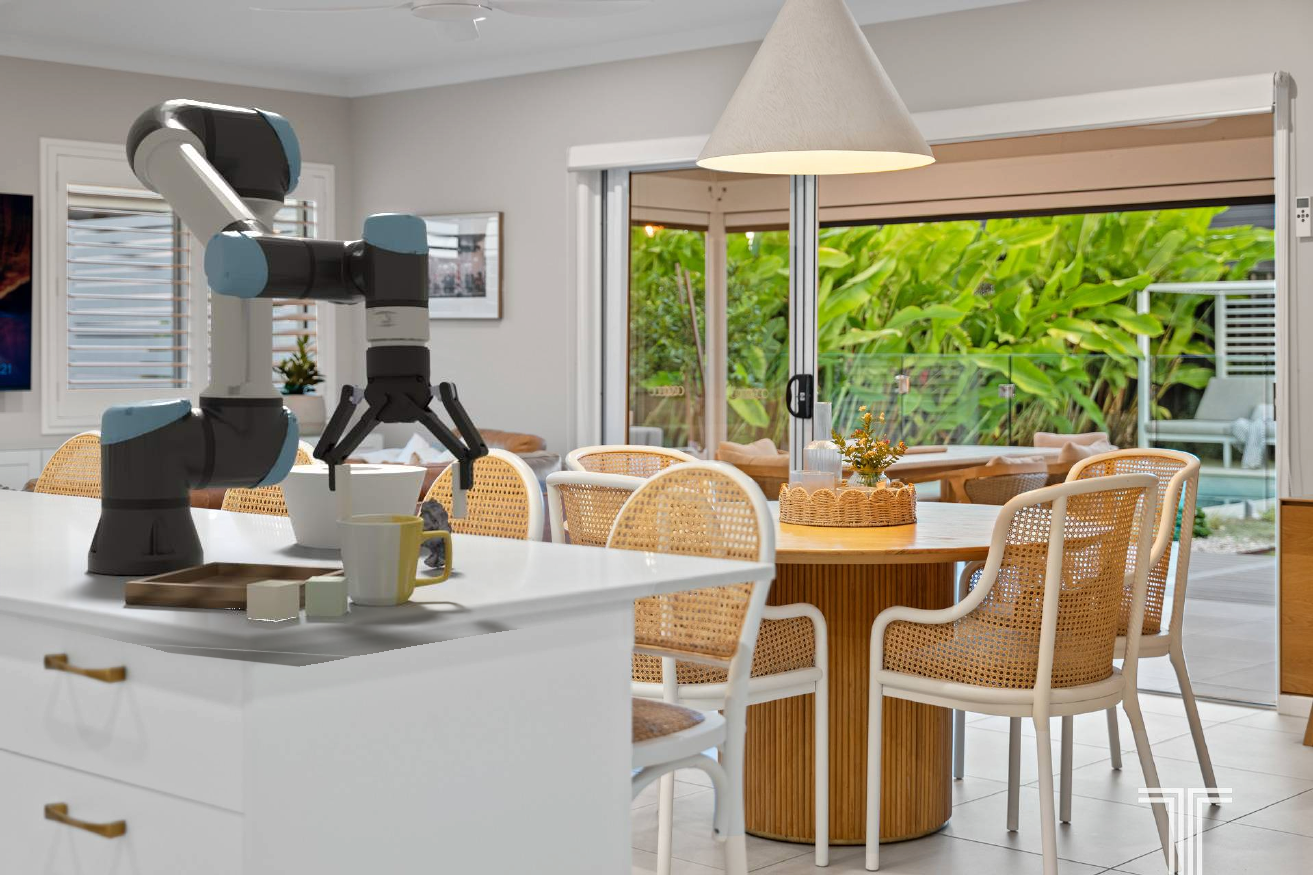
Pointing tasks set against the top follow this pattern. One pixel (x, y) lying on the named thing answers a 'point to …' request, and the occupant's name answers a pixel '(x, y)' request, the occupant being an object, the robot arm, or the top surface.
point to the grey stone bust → (435, 521)
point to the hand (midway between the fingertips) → (401, 523)
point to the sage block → (326, 596)
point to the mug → (386, 557)
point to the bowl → (369, 495)
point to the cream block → (273, 600)
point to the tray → (218, 584)
